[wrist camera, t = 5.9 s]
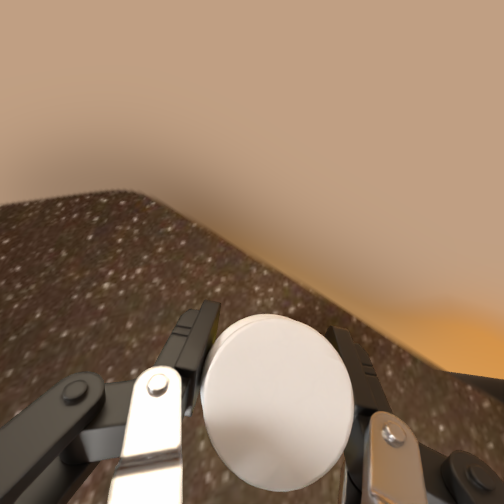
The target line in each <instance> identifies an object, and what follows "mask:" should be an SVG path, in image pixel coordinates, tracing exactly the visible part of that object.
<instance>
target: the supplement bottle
mask: <svg viewBox="0 0 504 504" xmlns="http://www.w3.org/2000/svg"><path fill="white" fill-rule="evenodd" d="M200 393H201V401H202V407H203V413H204V420H205V425H206V430H207V432H208V435H209V438H210V441H211V443H212V445H213V447H214V449H215V451H216V452H217V454H218V456H219V457H220V459H221V460H222V461H223V462H224V464H225V465H226V466H227V467H228V468H229V469H230V470H231V471H232V472H233V473H234V474H236V475H237V476H238V477H239V478H241V479H242V480H243V481H245V482H246V483H248V484H250V485H252V486H255V487H258V488H261V489H265V490H270V491H283V492H285V491H292V490H296V489H301V488H303V487H306V486H308V485H310V484H312V483H314V482H316V481H317V480H318V479H320V478H321V477H322V476H324V475H325V474H326V473H327V472H328V471H329V470H330V469H331V468H332V467H333V466H334V465H335V463H336V462H337V461H338V459H339V458H340V456H341V454H342V453H343V451H344V449H345V447H346V445H347V442H348V439H349V436H350V433H351V429H352V423H353V417H354V397H353V390H352V385H351V381H350V378H349V375H348V372H347V369H346V367H345V365H344V363H343V361H342V359H341V357H340V356H339V354H338V352H337V351H336V350H335V349H334V347H333V346H332V345H331V344H330V342H329V341H328V340H327V339H326V338H325V337H324V336H322V335H321V334H320V333H319V332H317V331H316V330H314V329H313V328H311V327H309V326H308V325H305V324H303V323H301V322H298V321H295V320H292V319H290V318H288V317H284V316H280V315H274V314H259V315H253V316H249V317H246V318H244V319H241V320H239V321H237V322H236V323H234V324H232V325H231V326H230V327H228V328H227V329H226V330H225V331H224V332H223V333H222V334H221V335H220V336H219V337H218V338H217V340H216V341H215V342H214V344H213V345H212V347H211V349H210V351H209V352H208V355H207V357H206V360H205V362H204V366H203V370H202V375H201V385H200Z"/></svg>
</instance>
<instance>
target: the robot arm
mask: <svg viewBox="0 0 504 504" xmlns="http://www.w3.org/2000/svg"><path fill="white" fill-rule="evenodd" d="M220 308H221V303H219V302H214V301H209V300H204V302H203V304H202V306H201V308H200V310H194V309H189V310H188V311H186V312H185V313H184V314H182V315H181V316H180V318H179V320H178V322H177V324H176V326H175V327H174V329H173V331H172V334H171V335H170V336H169V338H168V340H167V342H166V344H165V346H164V347H163V349H162V351H161V353H160V355H159V357H158V358H157V360H156V362H155V364H154V365H153V367H152V368H150V369H148V370H146V371H145V372H143V373H142V374H141V375H140V376H139V377H138V378H136V379H133V380H130V381H122V382H112V383H104V380H103V378H102V377H101V376H100V375H99V374H97V373H94V372H79V373H75V374H72V375H70V376H67V377H65V378H64V379H62V380H61V381H59V382H58V383H56V384H55V385H54V386H53V387H51V388H50V389H49V390H48V391H46V392H45V393H44V394H43V395H41V396H40V397H39V398H38V399H36V400H35V401H34V402H33V403H31V404H30V405H29V406H28V407H26V408H25V409H24V410H22V411H21V412H20V413H19V414H17V415H16V416H15V417H14V418H12V419H11V420H10V421H9V422H7V423H6V424H5V425H4V426H2V427H1V428H0V504H67V502H68V501H69V500H70V499H71V497H72V496H73V495H74V494H75V492H76V491H77V490H78V489H79V487H80V486H81V485H82V484H83V482H84V481H85V480H86V479H87V477H88V476H89V475H90V474H91V472H92V471H93V470H94V469H95V467H96V466H97V465H98V464H99V462H100V461H101V460H105V459H111V458H116V457H120V460H119V463H118V465H117V466H116V468H115V471H114V474H113V478H112V482H111V487H110V492H109V497H108V502H107V504H182V454H181V423H182V420H183V417H184V416H189V417H191V416H192V413H193V409H194V406H195V403H196V400H197V397H198V393H199V390H200V385H201V375H202V370H203V366H204V362H205V360H206V357H207V355H208V352H209V351H210V349H211V347H212V345H213V344H214V342H215V338H216V333H217V328H218V321H219V315H220ZM325 338H326V339H327V340H328V341H329V342H330V344H331V345H332V346H333V347H334V349H335V350H336V351H337V352H338V354H339V356H340V357H341V359H342V361H343V363H344V365H345V367H346V369H347V372H348V375H349V378H350V381H351V385H352V390H353V397H354V417H353V423H352V429H351V433H350V436H349V439H348V442H347V445H346V447H345V449H344V455H345V460H344V462H343V464H342V467H341V475H340V485H339V494H338V504H504V483H503V481H502V480H501V479H500V478H499V476H498V475H497V474H496V473H495V472H494V471H493V470H492V469H491V468H490V467H489V466H488V465H487V464H486V463H484V462H483V461H482V460H480V459H479V458H477V457H476V456H474V455H472V454H470V453H468V452H466V451H462V450H456V451H454V452H452V453H451V454H450V455H449V456H448V457H446V456H444V455H442V454H440V453H439V452H437V451H435V450H433V449H431V448H429V447H427V446H425V445H423V444H421V443H420V442H418V441H417V439H416V437H415V436H414V434H413V432H412V431H411V430H410V428H409V427H408V426H407V425H406V424H405V423H404V422H403V421H402V420H400V419H399V418H398V417H396V416H394V415H393V413H392V410H391V408H390V406H389V403H388V401H387V398H386V396H385V394H384V391H383V389H382V386H381V384H380V382H379V379H378V377H376V372H375V370H374V368H373V367H372V366H373V365H372V363H371V360H370V358H369V356H368V354H367V353H366V351H365V350H364V349H363V348H362V347H361V345H360V344H358V343H354V342H353V339H352V337H351V334H350V332H349V330H348V329H345V328H340V327H335V326H329V328H328V329H327V332H326V334H325Z"/></svg>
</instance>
